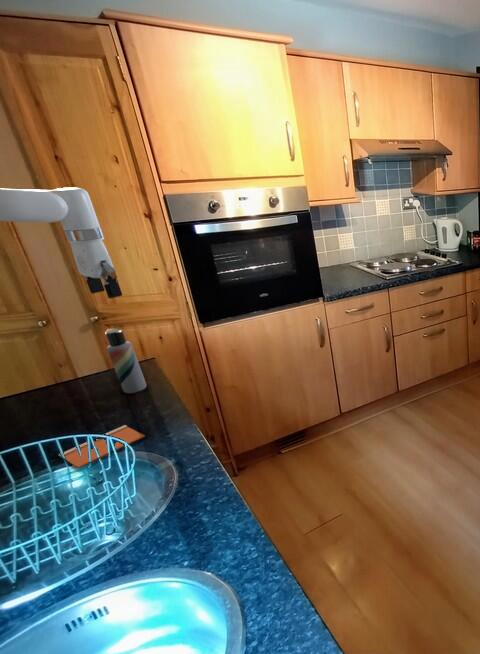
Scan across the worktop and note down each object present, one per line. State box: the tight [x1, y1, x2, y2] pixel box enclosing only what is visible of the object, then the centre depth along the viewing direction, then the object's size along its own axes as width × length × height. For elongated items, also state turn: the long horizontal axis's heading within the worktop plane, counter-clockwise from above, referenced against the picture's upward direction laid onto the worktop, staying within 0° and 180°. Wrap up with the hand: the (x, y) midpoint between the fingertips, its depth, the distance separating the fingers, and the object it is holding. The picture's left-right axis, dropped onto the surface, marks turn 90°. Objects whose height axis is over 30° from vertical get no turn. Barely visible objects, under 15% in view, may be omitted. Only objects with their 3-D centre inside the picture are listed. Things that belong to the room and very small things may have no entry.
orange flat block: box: [58, 424, 146, 469], centre depth 114 cm, size 14×10×1 cm
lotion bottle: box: [104, 327, 147, 394], centre depth 136 cm, size 6×6×20 cm
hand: (106, 294), depth 131 cm, fingers open, 9 cm apart
